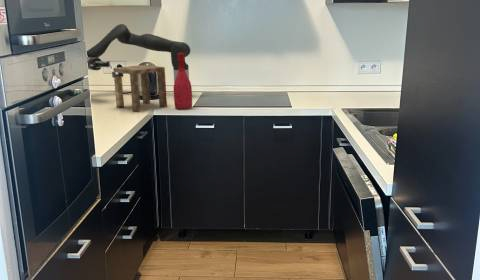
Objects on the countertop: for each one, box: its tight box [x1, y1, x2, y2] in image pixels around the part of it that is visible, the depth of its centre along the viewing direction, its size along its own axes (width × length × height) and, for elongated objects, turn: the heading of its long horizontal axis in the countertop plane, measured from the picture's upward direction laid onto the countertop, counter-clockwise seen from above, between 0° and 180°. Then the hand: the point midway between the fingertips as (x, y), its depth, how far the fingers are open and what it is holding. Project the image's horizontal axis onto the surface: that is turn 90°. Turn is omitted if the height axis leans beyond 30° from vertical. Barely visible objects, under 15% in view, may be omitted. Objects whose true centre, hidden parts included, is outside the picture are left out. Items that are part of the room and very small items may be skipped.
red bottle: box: [173, 53, 193, 110], centre depth 259 cm, size 10×10×30 cm
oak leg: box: [113, 73, 125, 109], centre depth 266 cm, size 3×3×18 cm
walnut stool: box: [111, 64, 168, 113], centre depth 264 cm, size 21×20×22 cm
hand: (107, 64), depth 273 cm, fingers closed
